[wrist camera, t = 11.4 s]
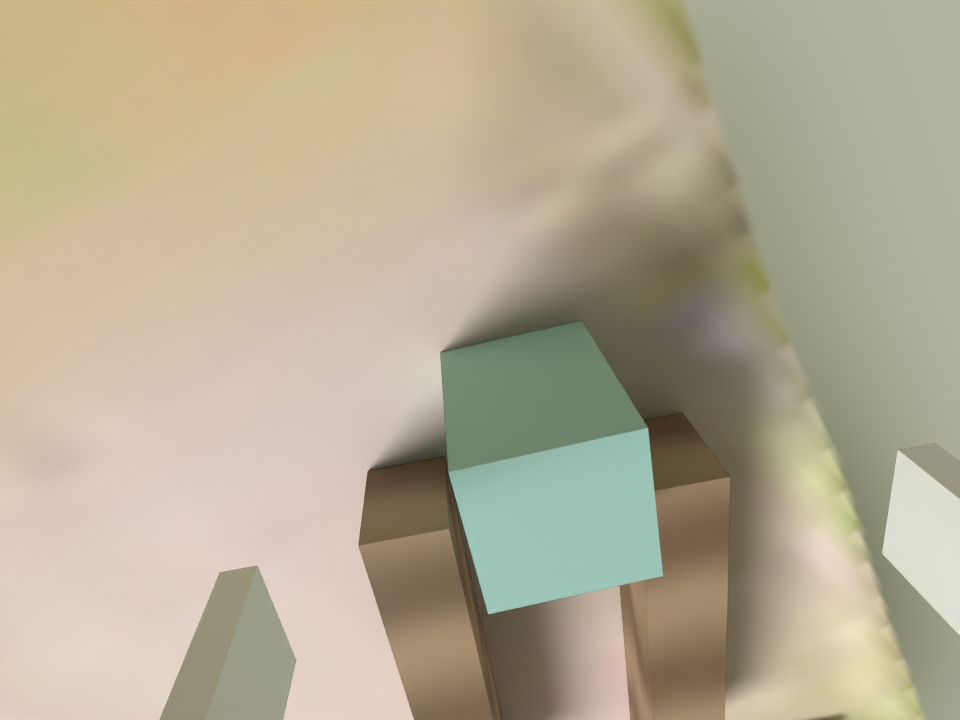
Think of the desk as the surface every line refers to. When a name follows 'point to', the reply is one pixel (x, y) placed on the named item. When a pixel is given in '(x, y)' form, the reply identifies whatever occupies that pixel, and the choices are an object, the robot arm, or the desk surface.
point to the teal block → (548, 468)
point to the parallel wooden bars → (645, 604)
